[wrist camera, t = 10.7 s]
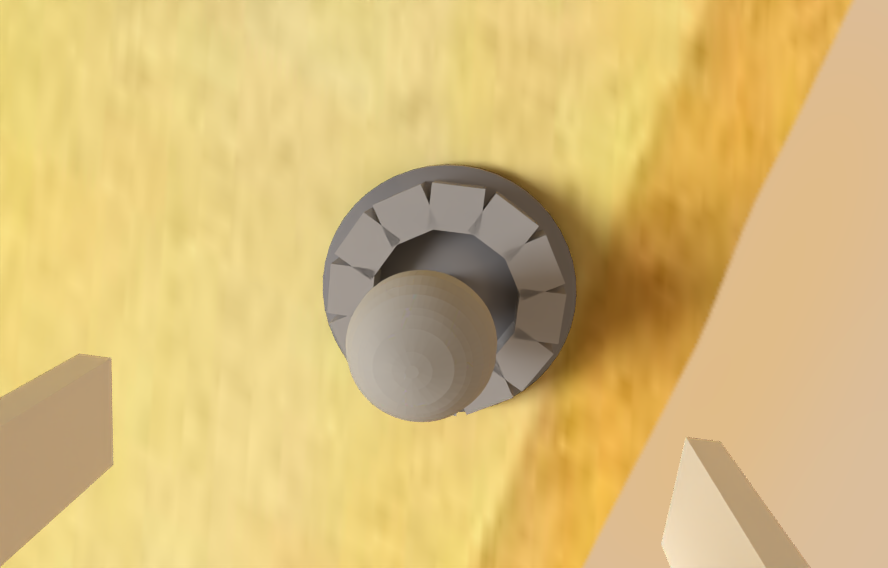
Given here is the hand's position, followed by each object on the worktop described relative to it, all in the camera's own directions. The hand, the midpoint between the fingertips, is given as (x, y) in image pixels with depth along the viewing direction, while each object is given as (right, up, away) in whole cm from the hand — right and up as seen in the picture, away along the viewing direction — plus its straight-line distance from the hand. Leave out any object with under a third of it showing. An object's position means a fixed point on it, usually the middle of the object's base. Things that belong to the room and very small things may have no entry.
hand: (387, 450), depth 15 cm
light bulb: (+1, +3, +16) cm, 16 cm away
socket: (+2, +3, +17) cm, 17 cm away
